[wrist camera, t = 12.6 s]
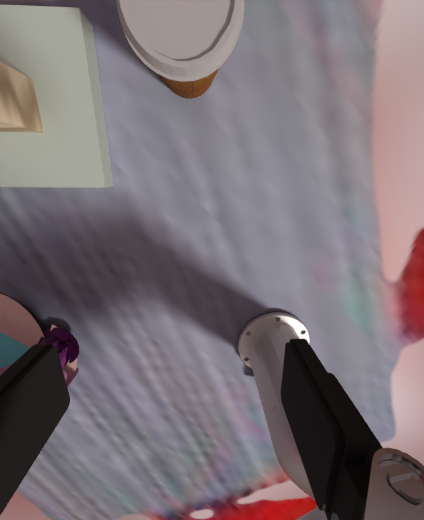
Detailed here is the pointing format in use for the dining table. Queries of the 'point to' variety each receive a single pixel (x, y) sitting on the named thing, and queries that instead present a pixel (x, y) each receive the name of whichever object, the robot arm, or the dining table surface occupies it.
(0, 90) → the maple block
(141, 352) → the dining table surface
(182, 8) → the disposable coffee cup
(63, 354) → the purple clam shell
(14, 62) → the sage stand
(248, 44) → the dining table surface
